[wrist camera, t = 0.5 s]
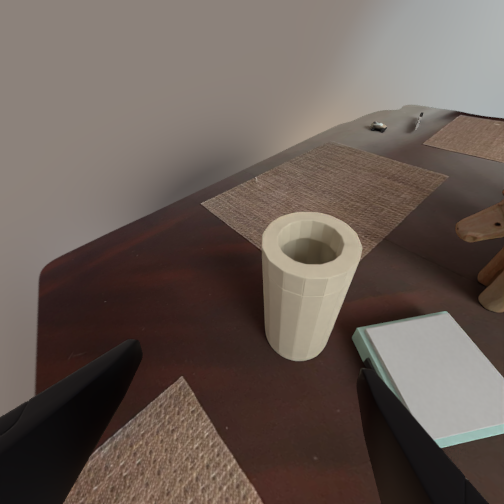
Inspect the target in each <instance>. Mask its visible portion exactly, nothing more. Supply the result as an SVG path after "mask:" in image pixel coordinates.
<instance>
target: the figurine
mask: <svg viewBox="0 0 504 504" xmlns="http://www.w3.org/2000/svg"><path fill="white" fill-rule="evenodd" d="M502 193H503V195H504V190H503V191H502ZM455 230H456V234H457V235H458V236H459V238H461V239H463V240H464V241H466V242H469V243H470V242H476V241H481V240H488V239H495V238H502V237H504V200H502V201H501V202H500V203H498V204H495V205H493V206H491V207H489V208H487V209H484V210H482V211H480V212H478V213H476V214H474V215H472V216H469V217H466V218H464V219H462V220H461V221H459V222H458V223H457V224H456V227H455ZM478 282H480V283H481V284H483V285H484V286H486V287H487V288H486V289H485V290H484V291H483V292H482V293H481V294H480V295H479V297H478V300H479V302H480V303H481V305H483V307H484V308H486V309H487V310H490V311H493V312H497V313H503V312H504V247H503V248H502V249H501V250H500V251H499V252H498V253H497V254H496V256H495V257H494V258H493V259H492V260H491V261H490V262H489V263H488V264H487V265H486V266H485V267H484V268H483V269H482V270H481V271H480V272H479V274H478Z"/></svg>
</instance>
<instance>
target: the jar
mask: <svg viewBox="0 0 504 504" xmlns="http://www.w3.org/2000/svg"><path fill="white" fill-rule="evenodd" d="M361 252H362V246H361V243H360V240H359V238H358V235H357V233H356V232H355V231H354V230H353V229H352V228H351V227H350V226H349V225H348V224H346V223H345V222H343V221H341V220H339V219H337V218H335V217H333V216H330V215H326V214H322V213H317V212H295V213H291V214H287V215H284V216H281V217H279V218H278V219H276V220H274V221H273V222H271V223H270V224H269V226H268V227H267V228H266V230H265V231H264V233H263V235H262V267H263V292H264V317H265V333H266V337H267V340H268V342H269V344H270V345H271V347H272V348H273V349H274V350H275V351H276V352H277V353H278V354H279V355H281V356H283V357H284V358H287V359H289V360H294V361H305V360H309V359H312V358H314V357H316V356H317V355H318V354H319V353H320V352H321V351H322V350H323V349H324V347H325V346H326V344H327V341H328V338H329V336H330V333H331V331H332V328H333V326H334V323H335V321H336V318H337V316H338V313H339V311H340V308H341V306H342V303H343V301H344V298H345V296H346V293H347V291H348V288H349V286H350V283H351V281H352V278H353V275H354V273H355V270H356V268H357V265H358V263H359V260H360V256H361Z"/></svg>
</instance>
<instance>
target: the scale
mask: <svg viewBox="0 0 504 504" xmlns="http://www.w3.org/2000/svg"><path fill="white" fill-rule="evenodd" d="M352 340H353V342H354V344H355V346H356V348H357V350H358V352H359V354H360V357H361V359H362V361H363V363H364V365H365V367H366V368H367V369H372V370H374V371H375V372H376V373H377V374H378V376H379V377H380V378H381V379H382V380H383V381H384V383H385V384H386V385H387V386H388V387H389V388H390V390H391V391H392V392H393V393H394V394H395V395H396V397H397V398H398V399H399V400H400V401H401V402H402V404H403V405H404V406H405V407H406V408H407V409H408V411H409V412H410V413H411V414H412V415H413V416H414V418H415V419H416V420H417V421H418V422H419V423H420V425H421V426H422V427H423V428H424V429H425V430H426V432H427V433H428V434H429V435H430V436H431V437H432V439H433V440H434V441H435V442H436V443H437V444H438V446H439V447H440V448H443V447H447V446H452V445H456V444H460V443H464V442H469V441H473V440H477V439H481V438H486V437H490V436H494V435H498V434H503V433H504V378H503V377H502V376H501V374H500V373H499V372H498V371H497V370H496V369H495V367H494V366H493V365H492V364H491V363H490V361H489V360H488V359H487V358H486V357H485V356H484V354H483V353H482V352H481V351H480V350H479V348H478V347H477V346H476V345H475V344H474V343H473V341H472V340H471V339H470V338H469V337H468V335H467V334H466V333H465V332H464V331H463V330H462V328H461V327H460V326H459V325H458V324H457V322H456V321H455V320H454V319H453V318H452V317H451V315H450V314H449V313H448V312H447V311H443V312H438V313H433V314H428V315H422V316H417V317H412V318H406V319H401V320H396V321H391V322H385V323H380V324H375V325H369V326H364V327H359V328H357V329H356V331H355V333H354V334H353V336H352Z"/></svg>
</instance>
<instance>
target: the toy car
mask: <svg viewBox="0 0 504 504" xmlns="http://www.w3.org/2000/svg"><path fill="white" fill-rule="evenodd" d="M370 127H372V129H371V130H372V131H380V132H384V130H386V128H387V127H386V125H384V124H382V123H378V122H373V123H372V124H371V126H370Z"/></svg>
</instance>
